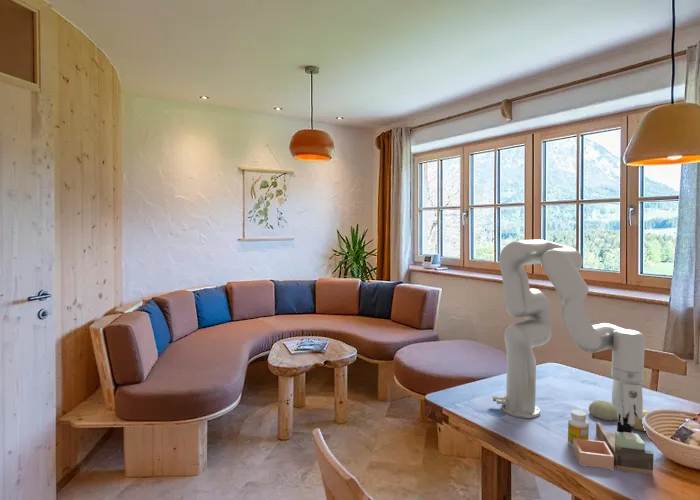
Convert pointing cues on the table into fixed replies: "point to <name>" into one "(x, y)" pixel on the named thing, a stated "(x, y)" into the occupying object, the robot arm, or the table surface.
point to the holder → (593, 453)
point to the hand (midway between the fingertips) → (624, 437)
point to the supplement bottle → (577, 426)
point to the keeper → (629, 440)
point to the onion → (639, 421)
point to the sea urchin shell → (603, 410)
